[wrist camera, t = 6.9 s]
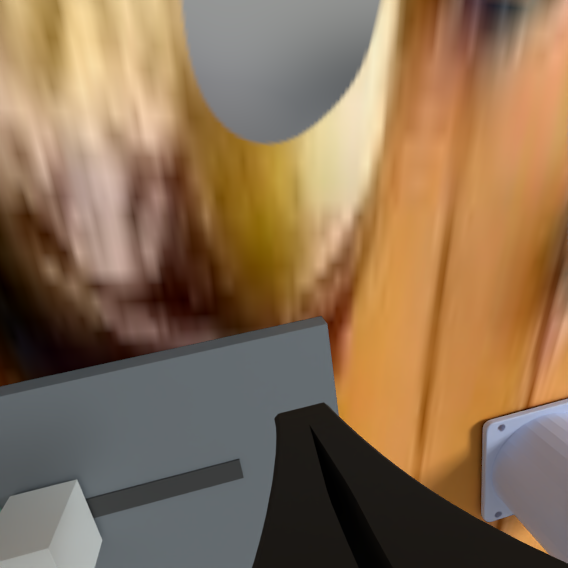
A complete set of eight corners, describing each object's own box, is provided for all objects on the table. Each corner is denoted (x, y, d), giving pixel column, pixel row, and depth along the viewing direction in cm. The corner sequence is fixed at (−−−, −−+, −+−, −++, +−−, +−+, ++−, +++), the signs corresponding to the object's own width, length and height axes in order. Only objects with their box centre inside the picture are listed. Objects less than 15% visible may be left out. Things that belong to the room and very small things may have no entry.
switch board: (321, 316, 20) (327, 324, 18) (361, 625, 27) (367, 644, 26) (-116, 412, 17) (-137, 428, 16) (65, 724, 25) (59, 748, 24)
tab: (76, 479, 18) (48, 548, 15) (102, 540, 20) (81, 616, 16) (9, 496, 18) (-35, 570, 15) (40, 557, 19) (5, 638, 16)
